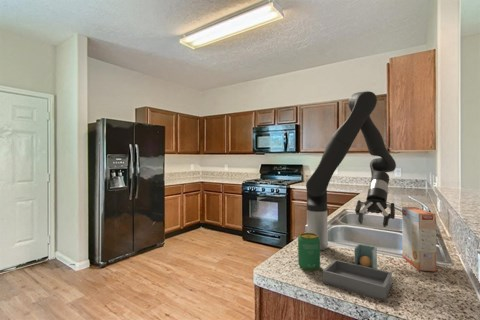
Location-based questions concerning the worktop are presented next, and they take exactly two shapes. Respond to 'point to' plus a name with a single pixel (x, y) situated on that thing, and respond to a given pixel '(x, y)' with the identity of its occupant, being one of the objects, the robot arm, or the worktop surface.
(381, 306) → the worktop surface
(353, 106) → the robot arm
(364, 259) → the ball
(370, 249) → the teal open-sided box
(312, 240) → the beverage can
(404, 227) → the cracker box
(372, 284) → the tray
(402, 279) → the worktop surface
